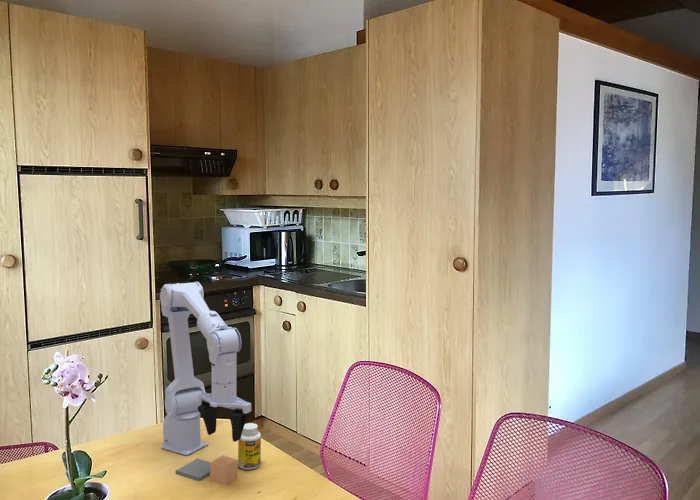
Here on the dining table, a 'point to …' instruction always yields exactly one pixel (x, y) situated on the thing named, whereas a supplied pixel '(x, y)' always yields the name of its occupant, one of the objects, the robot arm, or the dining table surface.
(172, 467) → the dining table surface
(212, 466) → the block
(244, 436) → the supplement bottle
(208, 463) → the mat
